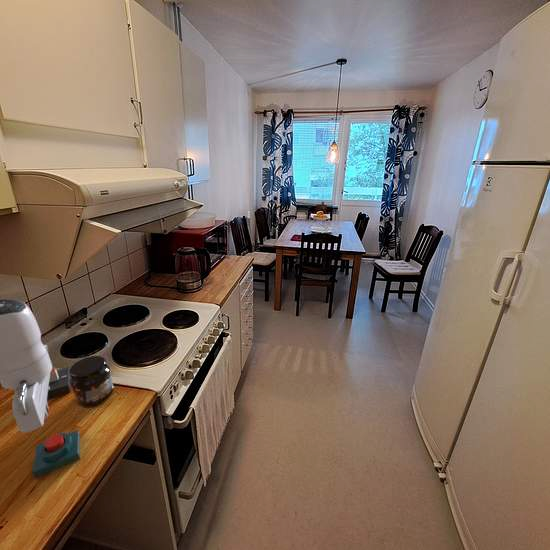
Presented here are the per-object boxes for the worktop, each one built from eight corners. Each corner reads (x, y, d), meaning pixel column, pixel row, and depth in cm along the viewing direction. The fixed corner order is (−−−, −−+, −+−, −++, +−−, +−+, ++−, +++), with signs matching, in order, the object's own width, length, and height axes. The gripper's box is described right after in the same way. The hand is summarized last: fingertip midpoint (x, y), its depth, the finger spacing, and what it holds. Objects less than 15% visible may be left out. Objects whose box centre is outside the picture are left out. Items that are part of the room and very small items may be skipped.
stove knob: (40, 385, 91) (37, 376, 90) (41, 382, 92) (37, 373, 91) (58, 379, 93) (55, 370, 92) (58, 377, 95) (55, 367, 93)
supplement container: (81, 387, 94) (72, 358, 90) (116, 380, 98) (109, 351, 93) (72, 412, 85) (62, 381, 81) (112, 403, 89) (104, 372, 84)
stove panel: (31, 404, 88) (28, 397, 86) (35, 384, 95) (32, 377, 94) (70, 392, 93) (67, 384, 91) (70, 373, 100) (68, 366, 99)
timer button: (45, 454, 69) (43, 449, 69) (47, 443, 72) (45, 438, 71) (63, 447, 71) (62, 442, 71) (64, 436, 74) (62, 431, 73)
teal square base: (35, 478, 68) (30, 467, 66) (38, 451, 74) (34, 440, 72) (80, 459, 72) (76, 448, 71) (80, 435, 78) (76, 424, 77)
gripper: (38, 393, 56) (57, 443, 61) (47, 341, 72) (62, 384, 77) (-5, 407, 53) (20, 458, 58) (14, 349, 69) (32, 393, 74)
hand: (44, 415), depth 68 cm, fingers closed
